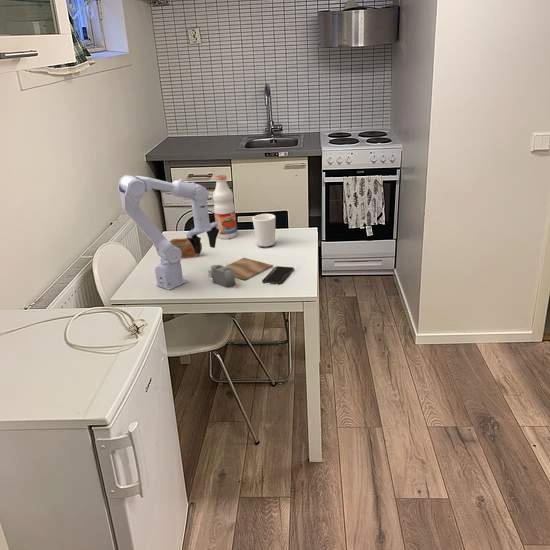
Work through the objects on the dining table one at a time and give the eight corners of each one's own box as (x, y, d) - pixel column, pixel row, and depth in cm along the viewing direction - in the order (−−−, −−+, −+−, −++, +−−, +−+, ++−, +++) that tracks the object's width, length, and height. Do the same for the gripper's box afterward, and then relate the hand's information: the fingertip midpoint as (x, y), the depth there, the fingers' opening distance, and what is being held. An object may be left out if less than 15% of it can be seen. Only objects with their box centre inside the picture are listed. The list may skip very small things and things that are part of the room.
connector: (230, 288, 206) (228, 273, 203) (207, 281, 213) (205, 266, 211) (237, 284, 208) (236, 269, 206) (215, 277, 216) (213, 263, 214)
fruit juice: (227, 231, 267) (220, 173, 256) (241, 234, 261) (235, 174, 250) (213, 237, 260) (205, 177, 249) (227, 241, 254) (220, 179, 244)
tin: (167, 259, 238) (164, 240, 235) (168, 257, 241) (165, 238, 238) (202, 256, 238) (200, 237, 235) (203, 254, 241) (201, 235, 238)
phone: (261, 281, 208) (276, 266, 220) (261, 284, 208) (276, 268, 221) (281, 283, 205) (295, 267, 218) (281, 285, 205) (295, 270, 218)
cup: (261, 240, 252) (259, 213, 247) (281, 242, 247) (279, 214, 242) (250, 248, 244) (248, 219, 239) (271, 250, 239) (268, 221, 234)
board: (244, 280, 211) (244, 279, 211) (215, 272, 221) (215, 270, 221) (273, 266, 222) (273, 265, 222) (244, 259, 232) (243, 257, 232)
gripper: (193, 223, 205) (198, 258, 210) (222, 212, 215) (226, 246, 220) (180, 220, 209) (185, 254, 215) (209, 210, 219) (213, 243, 224)
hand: (205, 250), depth 218 cm, fingers open, 7 cm apart
